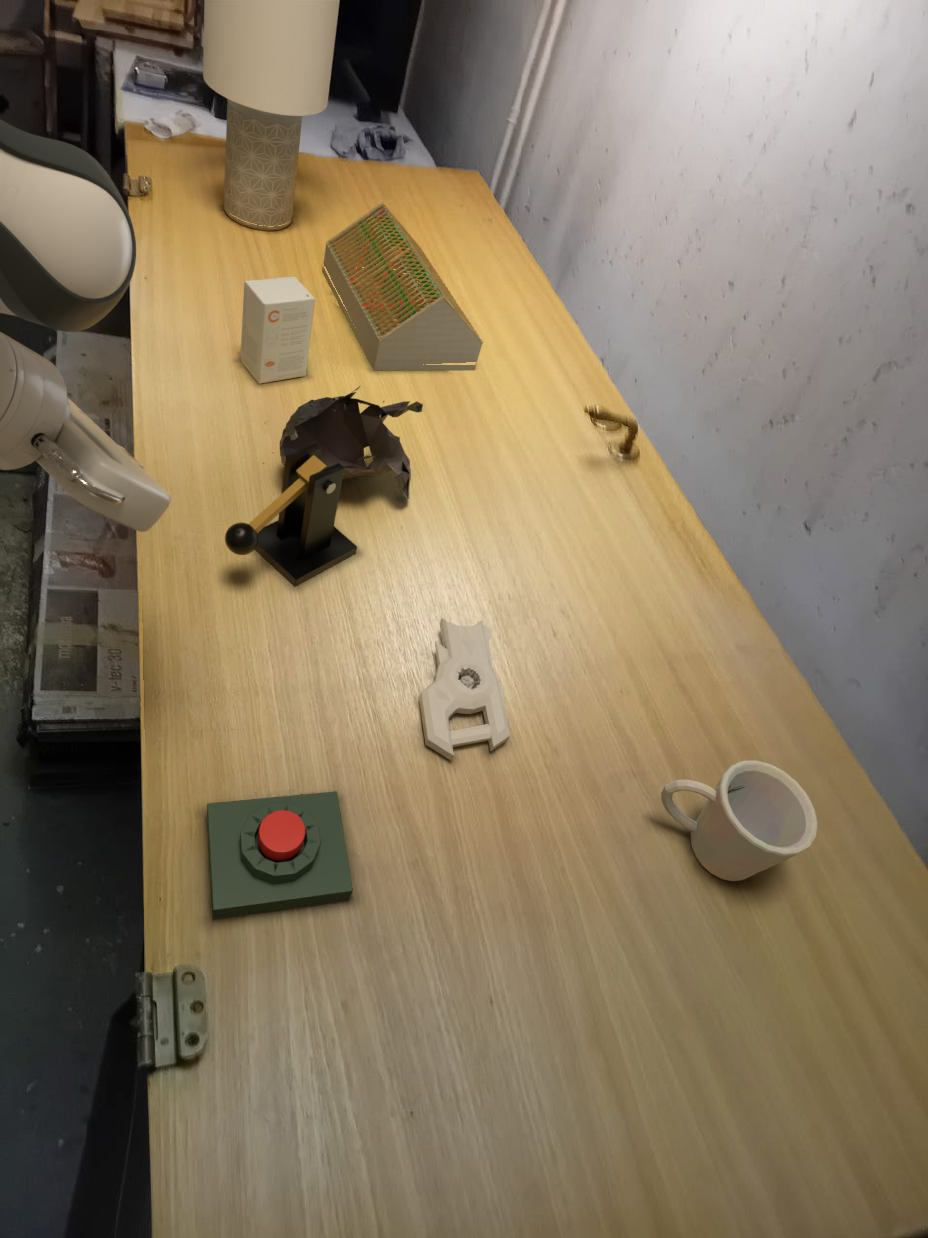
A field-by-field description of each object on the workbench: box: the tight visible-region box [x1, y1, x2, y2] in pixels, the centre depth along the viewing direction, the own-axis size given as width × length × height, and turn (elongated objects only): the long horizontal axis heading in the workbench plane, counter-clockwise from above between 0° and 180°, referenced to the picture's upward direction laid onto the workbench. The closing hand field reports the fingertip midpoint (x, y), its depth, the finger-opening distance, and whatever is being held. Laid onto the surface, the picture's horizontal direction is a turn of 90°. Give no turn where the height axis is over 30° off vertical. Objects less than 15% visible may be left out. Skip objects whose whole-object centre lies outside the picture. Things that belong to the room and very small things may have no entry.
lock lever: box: [224, 455, 327, 556], centre depth 92 cm, size 14×4×4 cm, turn 138°
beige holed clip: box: [418, 617, 511, 761], centre depth 92 cm, size 18×4×10 cm
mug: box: [660, 759, 819, 882], centre depth 85 cm, size 10×15×10 cm
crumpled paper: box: [262, 385, 424, 500], centre depth 106 cm, size 14×15×20 cm
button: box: [258, 810, 305, 861], centre depth 72 cm, size 4×4×2 cm
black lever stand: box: [254, 443, 358, 587], centre depth 97 cm, size 10×9×14 cm
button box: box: [206, 790, 354, 920], centre depth 74 cm, size 12×10×4 cm
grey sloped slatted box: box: [321, 201, 484, 371], centre depth 138 cm, size 30×19×13 cm, turn 22°
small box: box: [240, 275, 316, 385], centre depth 120 cm, size 8×6×13 cm
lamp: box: [202, 0, 340, 232], centre depth 140 cm, size 21×21×42 cm
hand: (129, 466), depth 71 cm, fingers closed
